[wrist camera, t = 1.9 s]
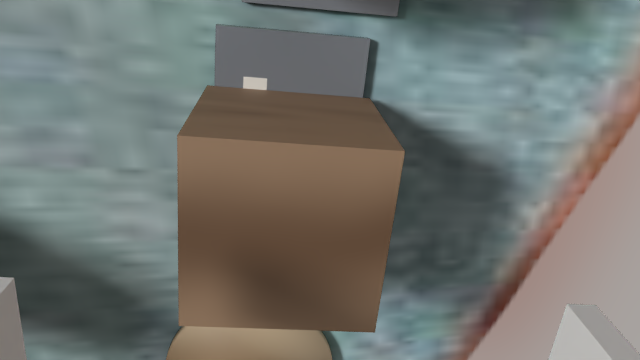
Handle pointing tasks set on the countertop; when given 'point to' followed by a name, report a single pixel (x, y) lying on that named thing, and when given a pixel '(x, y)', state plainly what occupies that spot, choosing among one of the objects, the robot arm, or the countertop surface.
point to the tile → (290, 61)
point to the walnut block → (284, 210)
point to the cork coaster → (248, 344)
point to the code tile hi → (341, 5)
